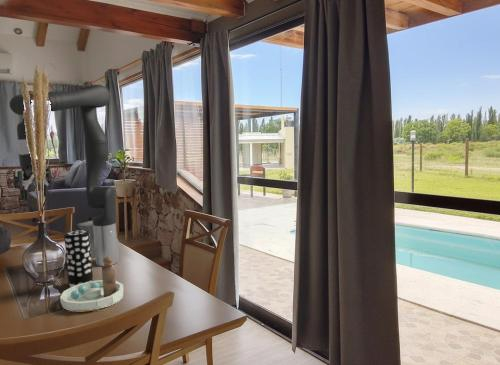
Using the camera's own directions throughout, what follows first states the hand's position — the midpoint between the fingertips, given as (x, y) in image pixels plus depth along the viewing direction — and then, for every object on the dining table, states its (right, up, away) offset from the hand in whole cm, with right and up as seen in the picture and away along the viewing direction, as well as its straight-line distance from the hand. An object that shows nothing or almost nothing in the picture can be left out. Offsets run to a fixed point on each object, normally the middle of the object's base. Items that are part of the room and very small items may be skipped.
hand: (35, 198), depth 139 cm
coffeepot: (+4, -28, +43) cm, 52 cm away
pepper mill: (+29, -32, -8) cm, 44 cm away
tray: (+24, -34, -8) cm, 42 cm away
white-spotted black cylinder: (+14, -33, +5) cm, 36 cm away
